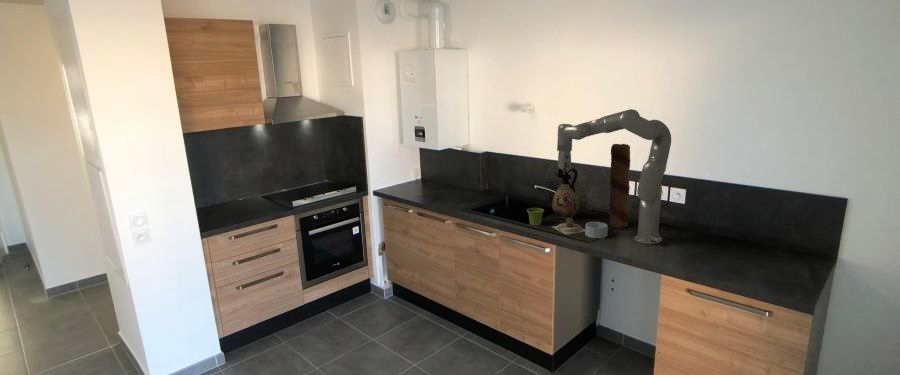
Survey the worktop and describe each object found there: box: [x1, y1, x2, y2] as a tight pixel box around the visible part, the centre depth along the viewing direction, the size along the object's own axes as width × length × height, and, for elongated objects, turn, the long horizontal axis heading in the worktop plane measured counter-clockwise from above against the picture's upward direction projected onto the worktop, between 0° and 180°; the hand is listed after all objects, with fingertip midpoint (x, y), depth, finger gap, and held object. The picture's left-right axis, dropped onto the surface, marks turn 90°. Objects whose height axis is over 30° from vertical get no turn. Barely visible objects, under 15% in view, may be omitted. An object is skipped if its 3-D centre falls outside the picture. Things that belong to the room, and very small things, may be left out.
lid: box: [557, 217, 583, 233], centre depth 268 cm, size 12×12×6 cm
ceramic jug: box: [551, 167, 580, 219], centre depth 288 cm, size 17×15×30 cm
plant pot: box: [526, 207, 545, 226], centre depth 279 cm, size 9×9×9 cm
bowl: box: [584, 221, 609, 239], centre depth 257 cm, size 11×11×6 cm
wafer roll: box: [608, 143, 631, 229], centre depth 269 cm, size 10×11×45 cm
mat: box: [552, 225, 585, 235], centre depth 268 cm, size 14×14×1 cm
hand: (563, 179), depth 265 cm, fingers open, 9 cm apart
